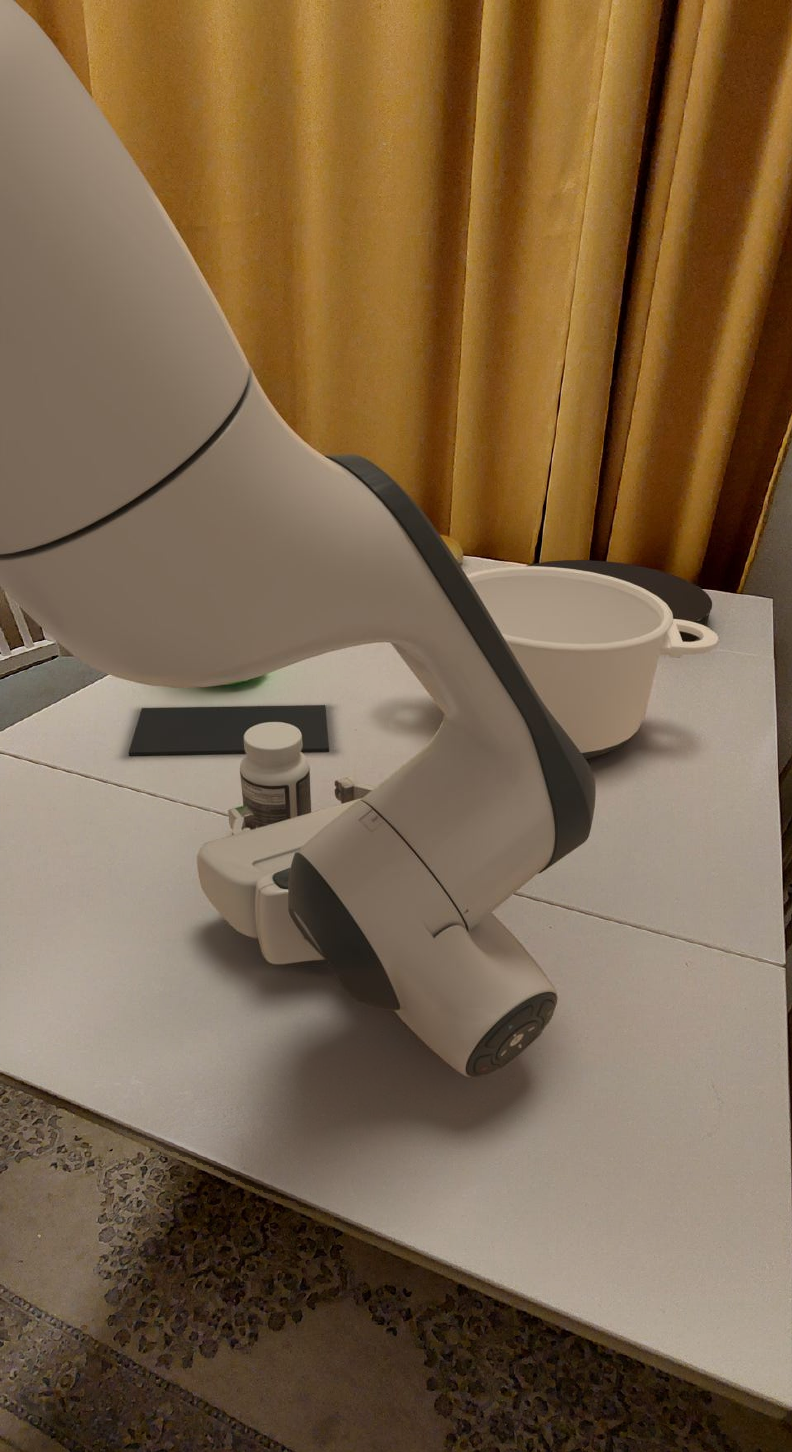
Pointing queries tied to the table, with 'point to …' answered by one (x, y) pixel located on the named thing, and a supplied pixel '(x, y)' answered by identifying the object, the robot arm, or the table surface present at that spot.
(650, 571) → the disc
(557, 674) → the pot
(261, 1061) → the table surface
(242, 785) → the pill bottle
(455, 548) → the bread roll
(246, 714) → the slate mat
